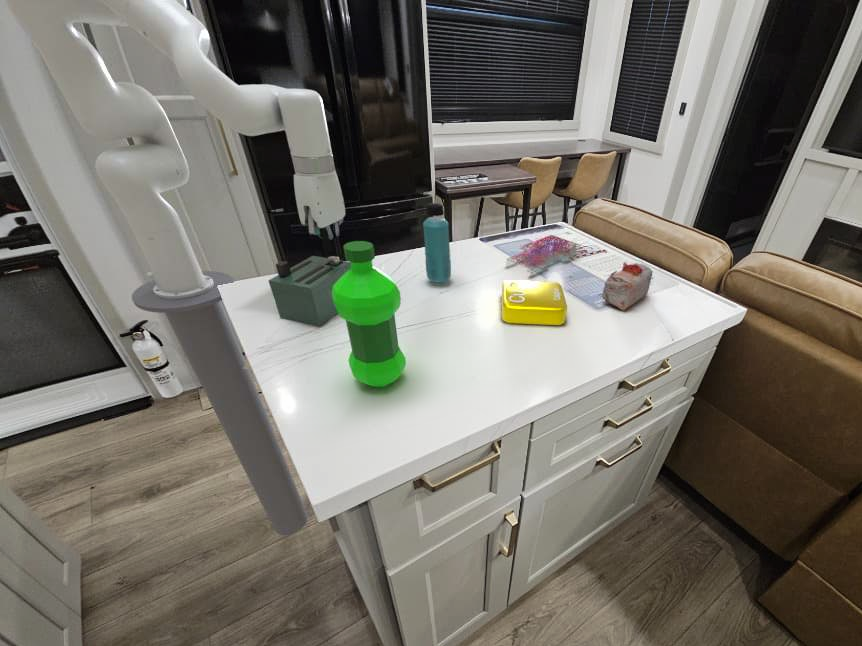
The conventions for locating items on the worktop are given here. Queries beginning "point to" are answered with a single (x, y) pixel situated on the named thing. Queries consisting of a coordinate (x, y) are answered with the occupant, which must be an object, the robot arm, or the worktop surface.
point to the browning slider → (283, 268)
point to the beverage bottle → (437, 244)
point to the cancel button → (333, 261)
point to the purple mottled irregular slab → (544, 262)
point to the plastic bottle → (369, 317)
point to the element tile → (533, 303)
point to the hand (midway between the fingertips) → (333, 254)
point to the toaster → (308, 291)
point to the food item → (627, 285)
